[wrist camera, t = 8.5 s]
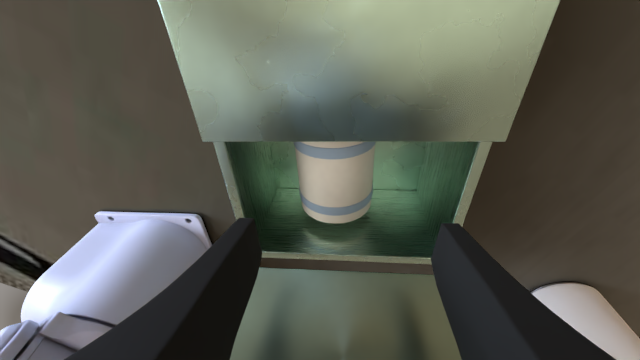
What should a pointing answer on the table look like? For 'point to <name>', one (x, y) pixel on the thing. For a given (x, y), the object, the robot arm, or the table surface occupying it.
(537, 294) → the can
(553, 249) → the table surface
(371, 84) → the green lidded box
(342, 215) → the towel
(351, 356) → the green flat panel
